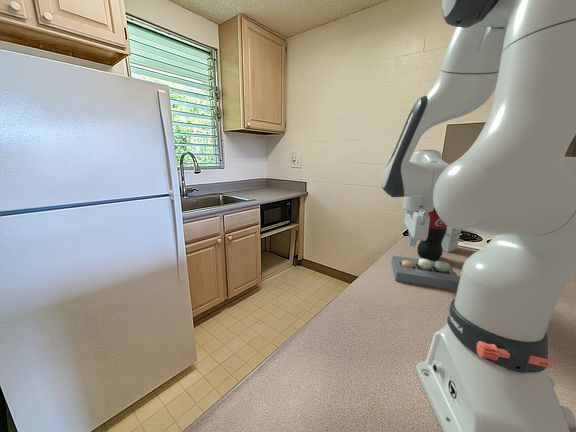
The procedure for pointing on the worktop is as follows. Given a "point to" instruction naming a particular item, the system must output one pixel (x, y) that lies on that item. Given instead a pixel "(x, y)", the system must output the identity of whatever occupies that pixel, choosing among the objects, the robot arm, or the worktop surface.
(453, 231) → the supplement box
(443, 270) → the sage button
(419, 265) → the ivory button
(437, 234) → the cola bottle
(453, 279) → the panel
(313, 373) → the worktop surface
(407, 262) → the terracotta button
